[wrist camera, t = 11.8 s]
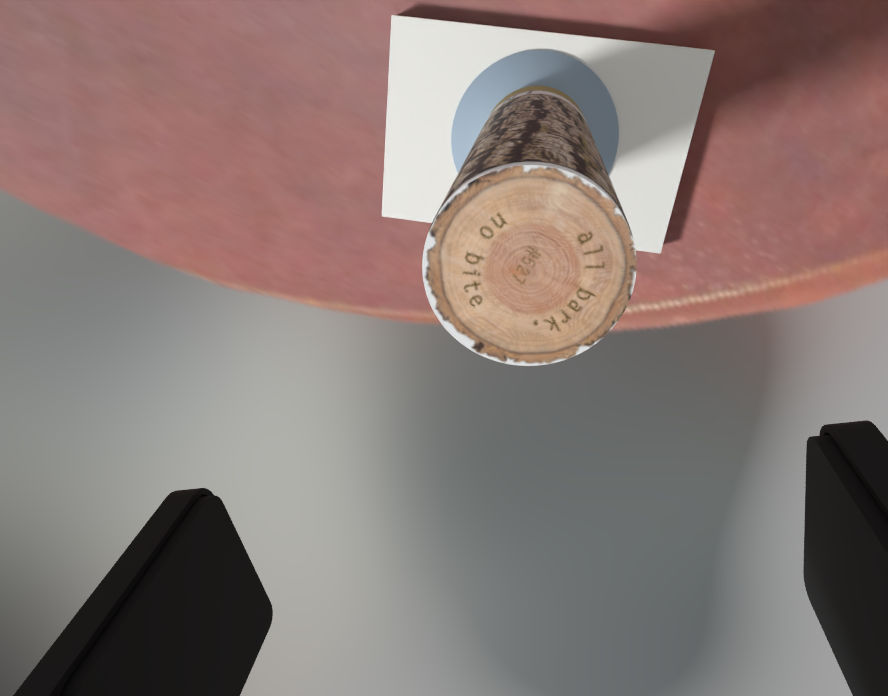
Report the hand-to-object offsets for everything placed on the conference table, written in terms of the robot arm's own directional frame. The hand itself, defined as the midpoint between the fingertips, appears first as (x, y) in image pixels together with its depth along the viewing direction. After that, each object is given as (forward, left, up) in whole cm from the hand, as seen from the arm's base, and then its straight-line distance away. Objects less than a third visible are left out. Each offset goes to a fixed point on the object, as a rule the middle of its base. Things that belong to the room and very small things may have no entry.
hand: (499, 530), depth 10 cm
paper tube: (0, 0, -37) cm, 37 cm away
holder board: (0, 0, -38) cm, 38 cm away
